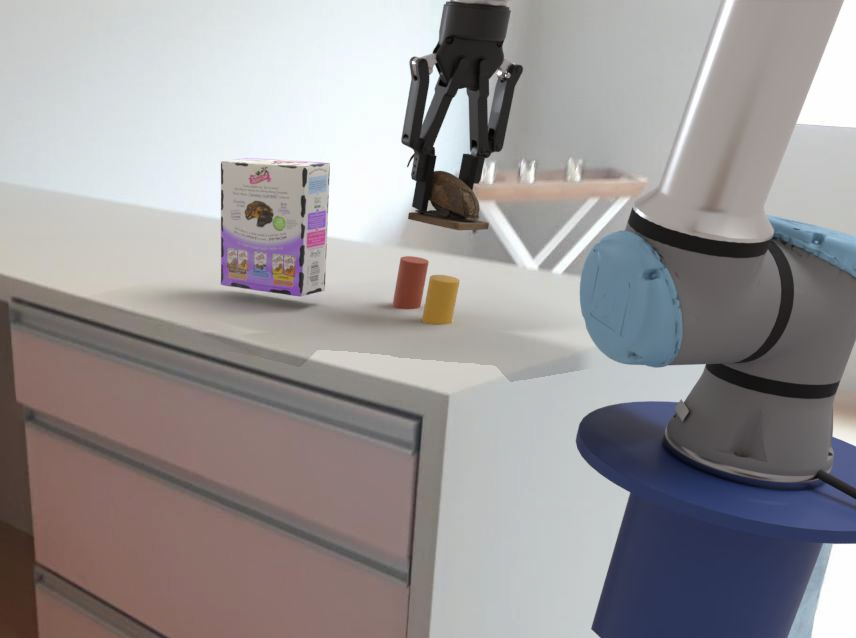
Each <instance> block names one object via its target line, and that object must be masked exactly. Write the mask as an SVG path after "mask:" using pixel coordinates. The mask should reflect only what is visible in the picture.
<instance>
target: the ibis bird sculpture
mask: <svg viewBox="0 0 856 638" xmlns="http://www.w3.org/2000/svg"><path fill="white" fill-rule="evenodd" d="M430 153H431V154H433V155H436V147H435V146H433V148H432V151H431V152H430ZM413 160H414V153H413V154H412V155H411V156H410V158H409V160H408V162H407V165H406V167H407V168H409V166H410V164H411V162H412V161H413ZM429 202H430V204H431V206H432V207H433V208H434V209H433V210H432V209H430V210H427V211H420V210H418V209H415V210H414V211H413V212H412V211H411V212H408V216H407V219H408V220H410V221H415V222H420V223H424V224H428V225H432V226H436V227H441V228H445V229H450V230H455V231H482V230H483V231H484V230H489V226H490V223H489V222H487V221H483V220H479V218H480V216H479V215H480V210H481V209H480V201H479V199H478V198H477V195H476V194H475V192H474V191H472V190H471V189H470V188H469V187H468V186H467V185H466V184H465V183H464V182H463V181H461V180H460V179H459V177H457V176H456V175H454V174H453V173H450V172H448V171H445V170H434V174H433V179H432V185H431V190H430V196H429Z"/></svg>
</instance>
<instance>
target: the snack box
mask: <svg viewBox="0 0 856 638" xmlns="http://www.w3.org/2000/svg"><path fill="white" fill-rule="evenodd" d="M330 169H331V163H330V162H323V161H307V160H293V159H292V160H291V159H278V158H277V159H276V158H253V157H242V158H235V159H228V160H227V159H226V160H221V161H220V285H221V286H224V287H231V288H239V289H245V290H253V291H259V292H267V293H273V294H280V295H286V296H292V297H305V296H310V295H313V294H317V293H322V292H324V291H325V290H326V274H327V273H326V271H327V270H326V269H327V250H328V249H327V247H328V246H327V244H328V243H327V242H328V224H329V222H328V221H329V198H330V197H329V196H330V173H331V170H330Z"/></svg>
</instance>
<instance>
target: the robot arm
mask: <svg viewBox="0 0 856 638" xmlns="http://www.w3.org/2000/svg"><path fill="white" fill-rule="evenodd" d="M508 2H512V0H449V1H448V0H447V1H445V3H444V4H443V7H442V13H441V18H440V25H439V30H438V41H437V43H436V45H435V47H434V48H433V50H432V52H431V53H429V54H426V55H423V56H420V57H419V56H412V57H411V58H409V61H408V63H409V64H408V65H409V70H410V77H411V79H410V85H409V91H408V97H407V102H406V110H405V115H404V120H403V127H402V132H401V138H400V142H401V144H402V145H403V146H405V147H407V148H410V149H411V150H412V151H413V152H414V153H413V154H414V158H413V159H412V167H411V171H410V177H411V180H413V181H415V185H414V186H415V187H414V191H413V196H412V197H413V199H412V203H411V207H412V208H413V209H415V210H420V211H428V206H429V202H430V201H429V196H430V190H431V185H432V179H433V174H434V171H435V167H436V162H437V161H436V160H437V157H438V156H437V155H436V154H435V155H433V154H431V153H430V152H431V151H432V148H433V147H435V146H434V145H435V143H436V141H437V138H438V136H439V133H440V131H441V128H442V125H443V124H444V120H445V118H446V116H447V114H448V110H449V108H450V106H451V103H452V101H453V99H454V98H455V97H456V96H457V93H458V91H459V90H462V89H466V95H467V98H468V130H469V151H470V153H462V158H461V163H460V167H459V173H458V178H459V179H460V180H461V181H463V182H464V183H465V184H466V185H467V186H468V187H469V188H470V189H471V190H472V191H473V190H474V185H476V184H477V185H478V184H480V182H481V180H482V175H483V170H484V164H485V159H488V158H490V157H491V156H492V154H493V153H500V152H502V150H503V148H504V145H505V144H504V143H505V139H506V133H507V129H508V123H509V119H510V114H511V109H512V105H513V104H512V103H513V98H514V94H515V90H516V86H517V84H518V81H519V80H520V78H521V76H522V74H523V71H524V67H523V65H522V64H517V63H513V62H511V61H510V60H508V59H505V52H504V48H503V46H504V42H505V40H506V39H507V33H508V27H509V23H510V18H511V12H512V10H511V9H510V8H511V7H510V6H508ZM719 2H720V3H719V5H718V8H717V11H716V14H715V16H714V20H713V23H712V25H711V29H710V32H709V34H708V37H707V41H706V44H705V46H704V48H703V49H704V50H703V53H702V56H701V58H700V62H699V64H698V68H697V70H696V73H695V76H694V79H693V81H692V82H693V83H692V85H691V88H690V92H689V94H688V97H687V101H686V103H685V106H684V110H683V112H682V115H681V118H680V121H679V124H678V127H677V130H676V133H675V137H674V139H673V142H672V145H671V148H670V151H669V153H668V154H669V155H668V157H667V159H666V163H665V166H664V168H663V171H662V175H661V177H660V180H659V183H658V185H657V186H656V187H655V188H653V189H651V190H649V191H648V192H646V193H645V194H643V195H641V196H640V197H637V199H635V200H634V202H633V203H632V207H631V211H630V213H629V216H628V219H627V222H626V225H625V228H624V230H618V231H614V232H612V233H610V234H606V235H605V236H603V237H602V238H600V240H599V242H597V243H595V244H594V245H593V246H592V248H591V249H590V251H589V252H588V254H587V256H586V258H585V260H584V263H583V266H582V271H581V273H580V274H581V275H580V282H579V304H580V305H579V306H580V311H581V316H582V317H583V320H584V323H585V329H586V330H587V333H588V335H589V337H590V339H591V340H592V342H593V344H594V345H595V346H596V348H597V349H598V350H599V351H600V352H601V353H602V354H603V355H604V356H606V358H608V359H611V360H612V361H614V362H616V363H619V364H622V365H628V366H629V365H630V366H646V367H650V368H664V367H665V368H666V367H668V366H687V365H688V366H693V365H695V366H696V365H704V368H703V371H702V373H701V375H700V377H699V378H698V379H697V382H696V383H695V384H694V385H693V387H692V389H691V390H690V392H689V393H688V395H687V396H686V398H685V399H684V401H683V400H682V398H681V399H680V400H679V401H678V402H679V403H678V404H677V406H676V407H675V410H676V412H677V413H675V414H674V415H673V417H672V418H671V419H670V421H669V423H668V425H667V426H666V430H665V433H664V437H663V440H662V444H663V446H664V448H665V450H666V451H667V452H668V453H669V454H670V455H671V456H673V457H674V458H675V459H677V460H678V461H680V462H682V463H683V464H685V465H687V466H689V467H691V468H693V469H695V470H698V471H700V472H702V473H705V474H708V475H710V476H713V477H716V478H719V479H723V480H726V481H730V482H733V483H737V484H742V485H746V486H751V487H757V488H764V489H772V490H784V491H798V490H808V489H813V488H817V487H820V486H822V485H823V484H825V483H827V484H829V485H830V486H832V487H834V488H836V489H838V490H840V491H841V492H843V493H845V494H847V495H849V496H851V497H852V498H854V499H856V488H854V487H853V486H851V485H849V484H847V483H845V482H843V481H841V480H840V479H838V478H836V477H834V476H832V475H830V472H831V469H832V466H833V459H834V452H833V449H832V447H831V444H832V437H834V436H833V433H834V401H835V397H836V395H837V391H838V390H839V386H840V383H841V381H842V378H843V376H844V373H845V370H846V367H847V366H848V365H847V364H848V363H849V359H850V356H851V355H852V351H853V349H854V346H855V343H856V235H853V234H850V233H846V232H842V231H838V230H836V229H835V230H834V229H831V228H828V227H823V226H820V225H816V224H811V223H808V222H803V221H800V220H796V219H795V220H794V219H790V218H785V217H782V216H781V217H780V216H776V215H770V214H766V213H765V204H766V202H767V199H768V198H769V194H770V192H771V189H772V186H773V184H774V182H775V179H776V176H777V173H778V171H779V169H780V166H781V164H782V161H783V158H784V156H785V153H786V151H787V148H788V146H789V143H790V141H791V138H792V135H793V133H794V130H795V128H796V125H797V123H798V120H799V117H800V115H801V112H802V110H803V107H804V105H805V102H806V100H807V97H808V94H809V91H810V89H811V86H812V85H813V81H814V79H815V77H816V73H817V71H818V69H819V66H820V63H821V61H822V59H823V56H824V53H825V51H826V49H827V46H828V44H829V40H830V37H831V35H832V33H833V31H834V27H835V25H836V22H837V20H838V17H839V15H840V12H841V9H842V7H843V4H844V2H845V0H720V1H719ZM434 66H435V68H436V71H437V72H438V75H439V76H438V78H437V81H436V83H435V86H434V94H433V96H432V99H431V101H430V104H429V107H428V109H427V112H426V114H425V111H426V104H427V99H428V94H429V89H430V75H432V74H433V71H434ZM495 73H496V77H497V79H496V83H495V87H494V91H493V98H492V103H491V108H490V112H489V113H488V111H489V110H488V107H489V105H488V97H489V96H490V79H491V78H492V77H493V76H494V74H495ZM473 192H474V191H473Z"/></svg>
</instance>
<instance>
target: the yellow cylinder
mask: <svg viewBox="0 0 856 638" xmlns="http://www.w3.org/2000/svg"><path fill="white" fill-rule="evenodd" d="M428 279H429V281H428V285H427V291H426V295H425V302H424V307H423V312H422V318H421V322H423V323H425V324H427V325H429V324H430V325H448V324H452V323H453V318H454V312H455V307H456V303H457V297H458V292H459V286H460V283H461V281H460V279H459V278H457V277H455V276H451V275H445V274H433V275H430V276H429V278H428Z"/></svg>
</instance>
